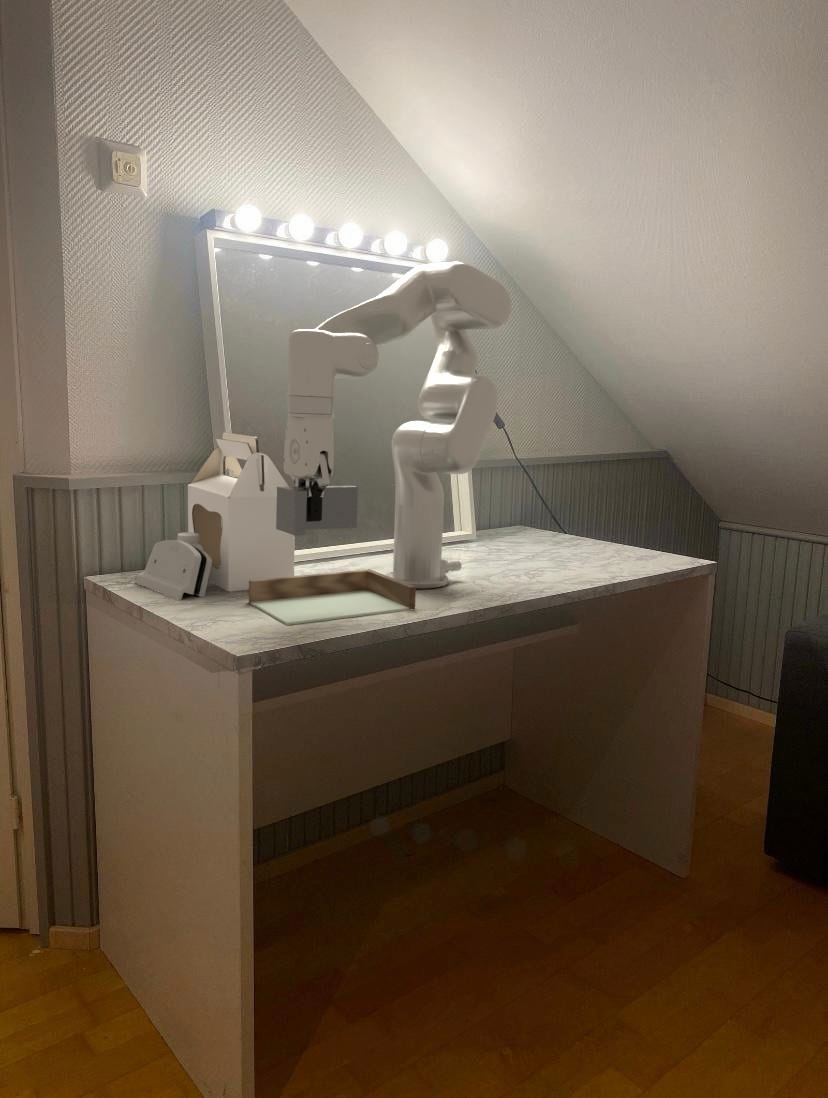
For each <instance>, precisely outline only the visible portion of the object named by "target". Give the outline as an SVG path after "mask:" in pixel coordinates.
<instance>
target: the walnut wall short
mask: <svg viewBox="0 0 828 1098" xmlns="http://www.w3.org/2000/svg"><path fill="white" fill-rule="evenodd" d="M367 590H368V591H370V592H373V593H375V594H378V595H380V596H382V597H385V598H387V599H390V600H392V601H394V602H397V603H399V604H402V605H404V606H406V607H409V610H408V611H411V610H410V609H413V610H416V593H417V591H416V590H417V588H416V587H415V586H413V585H410V584H407V583H405V582H402V581H399V580H397V579H394V578H391V577H389V576H386V574H383V573H381V572H378V571H375V570H373V571H367Z"/></svg>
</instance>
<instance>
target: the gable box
mask: <svg viewBox="0 0 828 1098" xmlns="http://www.w3.org/2000/svg"><path fill="white" fill-rule="evenodd" d="M215 441H216V442H217V445H218V447H215V448H214V449H213V450H212V451H211V452H210V454H209V456H208V457H206V460H205V461H204V462H203V464H202V465H201V467H200V469H198V471H197V473H196V474H195V476H194V477H193V478H192V480H191V482H190V483H188V484H187V526H188V527H187V532H192V533H198V534H199V542H198V544H200V545H201V546H202V548H203V551H204V552H206V553H207V554H208V555H209V557H210V558H211V559H212V565H211V569H210V574H209V578H208V582H210V583H212V584H214V585H216V586H217V587H219V588H221V589H223V590H225V591H226V592H228V593H231V592H241V591H242V592H245V591H249V580H257V579H268V578H280V577H291V576H295V544H296V543H295V538H296V537H295V536H296V535H292V534H289V533H286V532H283V531H280V530H278V529H276V512H277V487H284V486H289V485H288V483H287V482H286V480H285V478H283V476H282V474H281V473H280V472H279V470H278V469H277V467H276V466H275V464H274V462H273V461H272V460H271V458H270V456H268V455H267V454H265V453H263V452H260V450H259V449H260V448H259V439H258V437H257V436H253V435H247V434H241V433H240V434H239V433H233V432H232V433H231V432H223V433H222V438H220V437H215ZM238 459H239V460H245V463H244V466H243V467H241V465H240V463H239V461H238ZM227 468H228V469H231V470H233V471H234V474H235V477H232V476H228V475H225V470H227ZM220 515H221V516H220ZM221 517H222V520H223V530H222V527H221ZM218 566H220V567H218Z"/></svg>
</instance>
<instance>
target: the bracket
mask: <svg viewBox="0 0 828 1098" xmlns="http://www.w3.org/2000/svg"><path fill="white" fill-rule="evenodd" d="M358 496H359V487H358V486H355V485H328V486H327V487H325V489H324V496H323V497H322V520H321V521H311V522H306V509H307V491H306V486H292V485H291V486H290V485H288V486H284V487H277V512H276V529H278V530H280V531H283V532H286V533H289V534H292V535H295V536H306V535H307V530H328V529H329V530H332V529H355V528H357V525H358V520H357V519H358V502H359V501H358V500H359V499H358Z"/></svg>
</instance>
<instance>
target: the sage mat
mask: <svg viewBox="0 0 828 1098" xmlns="http://www.w3.org/2000/svg"><path fill="white" fill-rule="evenodd" d="M250 605H251V606H253V607H255V608H256V609H258V610H260V611H262V612H263V613H265V614H267V615H269V616H270V617H273V618H274V619H275V620H277V621H280V622H281V623H283V624H284V625H285V626H290V625H292V626H293V625H299V624H308V623H317V622H324V621H331V620H341V619H348V618H358V617H363V616H373V615H381V614H386V613H387V614H388V613H396V612H404V610H405V611H410V610H409V607H406V606H404V605H402V604H399V603H397V602H394V601H392V600H390V599H387V598H385V597H382V596H380V595H378V594H375V593H373V592H370V591H368V590H361V591H352V592H343V593H333V594H324V595H314V596H305V597H295V598H286V599H276V600H267V601H257V602H251V604H250Z"/></svg>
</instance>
